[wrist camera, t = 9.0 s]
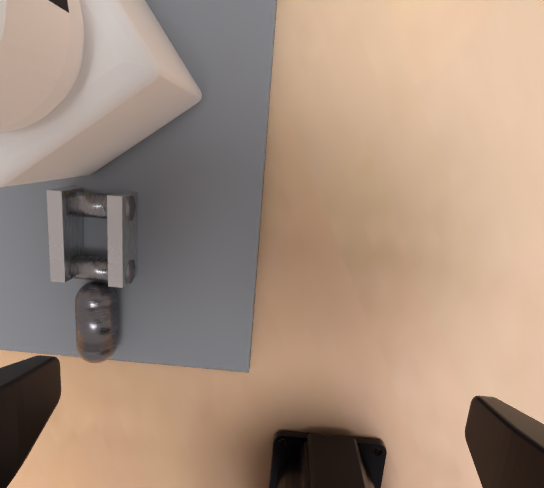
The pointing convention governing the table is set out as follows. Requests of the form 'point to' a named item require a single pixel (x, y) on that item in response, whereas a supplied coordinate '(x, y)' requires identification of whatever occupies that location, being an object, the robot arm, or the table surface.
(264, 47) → the rubber mat
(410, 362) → the table surface
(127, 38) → the medicine bottle
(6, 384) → the robot arm
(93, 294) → the chain ends
